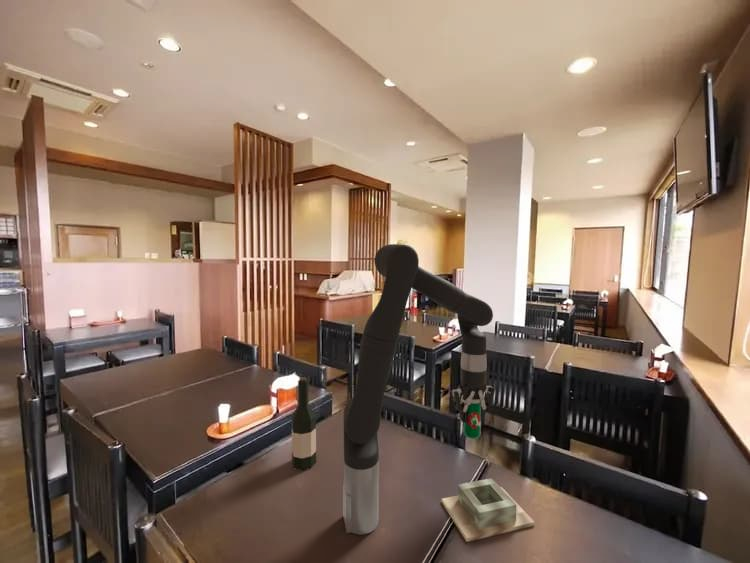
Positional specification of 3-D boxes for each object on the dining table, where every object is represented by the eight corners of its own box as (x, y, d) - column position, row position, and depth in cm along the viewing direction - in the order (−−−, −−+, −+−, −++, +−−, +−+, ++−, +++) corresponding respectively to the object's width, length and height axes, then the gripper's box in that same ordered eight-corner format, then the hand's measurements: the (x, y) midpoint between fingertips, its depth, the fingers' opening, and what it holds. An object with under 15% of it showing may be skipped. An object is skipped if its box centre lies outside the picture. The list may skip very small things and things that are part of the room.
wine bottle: (321, 462, 113) (320, 378, 111) (301, 473, 107) (299, 384, 105) (307, 452, 119) (306, 372, 117) (287, 463, 113) (285, 378, 111)
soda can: (467, 429, 103) (468, 392, 102) (482, 434, 100) (483, 396, 99) (460, 435, 99) (461, 397, 98) (476, 441, 96) (477, 401, 95)
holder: (466, 541, 81) (466, 520, 80) (441, 501, 94) (441, 483, 94) (534, 525, 86) (534, 505, 85) (501, 489, 99) (501, 472, 99)
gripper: (458, 372, 93) (457, 430, 94) (501, 368, 96) (500, 424, 97) (446, 364, 100) (445, 418, 101) (486, 361, 104) (485, 413, 105)
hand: (472, 421), depth 99 cm, fingers closed on soda can, 5 cm apart
